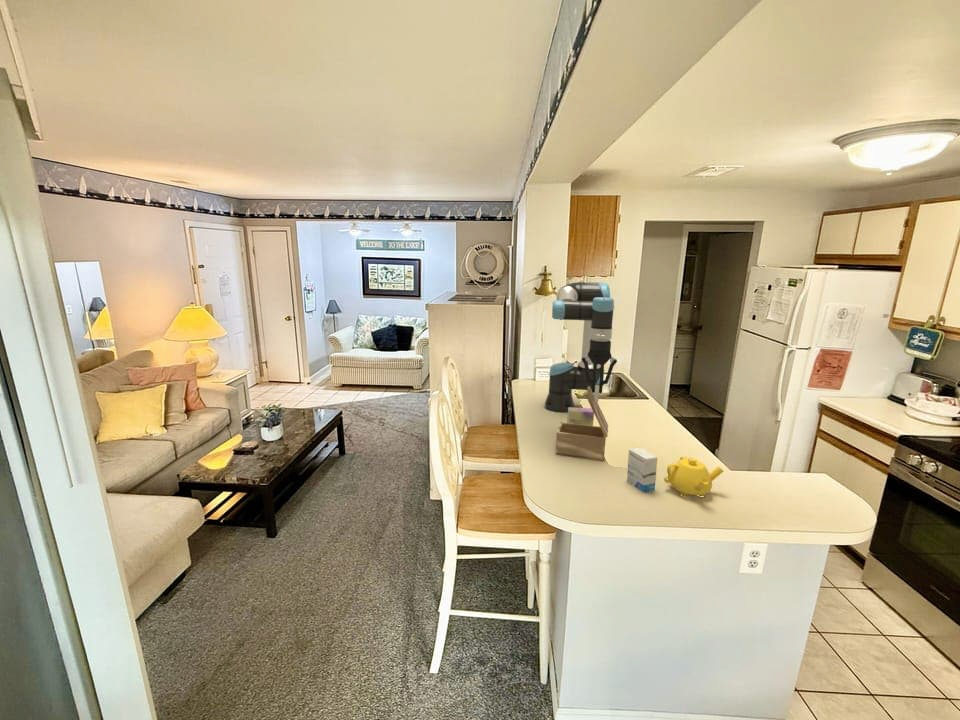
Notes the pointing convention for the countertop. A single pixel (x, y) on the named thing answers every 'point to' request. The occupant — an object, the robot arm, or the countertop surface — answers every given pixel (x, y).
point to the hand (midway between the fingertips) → (596, 401)
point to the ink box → (642, 469)
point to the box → (580, 416)
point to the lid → (597, 411)
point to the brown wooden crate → (580, 441)
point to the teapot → (691, 476)
